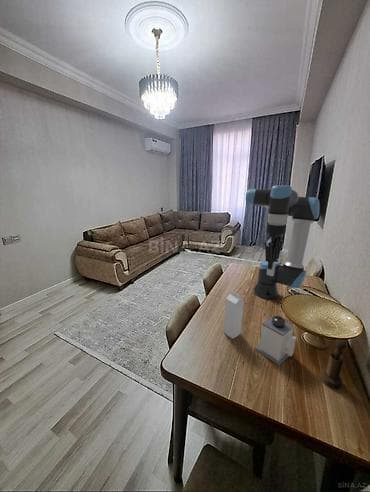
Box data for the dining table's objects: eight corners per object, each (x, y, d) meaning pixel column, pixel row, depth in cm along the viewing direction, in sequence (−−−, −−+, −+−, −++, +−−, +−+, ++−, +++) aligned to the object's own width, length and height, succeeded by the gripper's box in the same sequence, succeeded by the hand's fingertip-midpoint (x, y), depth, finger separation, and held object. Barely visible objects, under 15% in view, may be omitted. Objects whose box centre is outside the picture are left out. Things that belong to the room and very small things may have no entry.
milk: (232, 339, 99) (236, 297, 93) (222, 332, 103) (225, 292, 97) (240, 334, 102) (244, 293, 96) (231, 327, 107) (234, 288, 101)
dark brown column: (316, 373, 81) (325, 334, 76) (331, 372, 82) (342, 333, 77) (329, 389, 75) (340, 348, 70) (345, 388, 75) (358, 347, 70)
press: (268, 339, 99) (272, 313, 96) (296, 355, 90) (301, 328, 86) (255, 349, 93) (259, 323, 89) (284, 369, 83) (289, 339, 79)
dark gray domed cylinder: (271, 340, 95) (275, 313, 91) (284, 347, 91) (288, 320, 87) (264, 346, 92) (268, 318, 88) (277, 354, 87) (282, 325, 83)
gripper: (275, 220, 95) (269, 268, 102) (260, 224, 86) (254, 276, 93) (292, 222, 89) (284, 273, 96) (278, 227, 81) (271, 282, 88)
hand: (270, 274), depth 95 cm, fingers closed
